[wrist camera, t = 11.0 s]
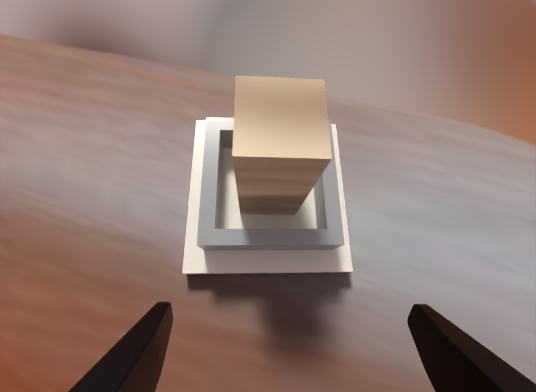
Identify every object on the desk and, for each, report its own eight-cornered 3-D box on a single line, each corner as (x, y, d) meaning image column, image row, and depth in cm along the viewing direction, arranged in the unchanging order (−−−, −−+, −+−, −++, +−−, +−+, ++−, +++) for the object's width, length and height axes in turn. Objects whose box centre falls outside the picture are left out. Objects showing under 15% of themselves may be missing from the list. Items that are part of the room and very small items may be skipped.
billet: (294, 215, 19) (331, 159, 10) (240, 214, 19) (232, 156, 10) (292, 165, 20) (324, 79, 12) (241, 164, 20) (236, 75, 11)
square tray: (346, 272, 19) (368, 269, 15) (186, 274, 18) (171, 271, 15) (331, 132, 23) (346, 104, 19) (199, 128, 22) (189, 99, 19)
